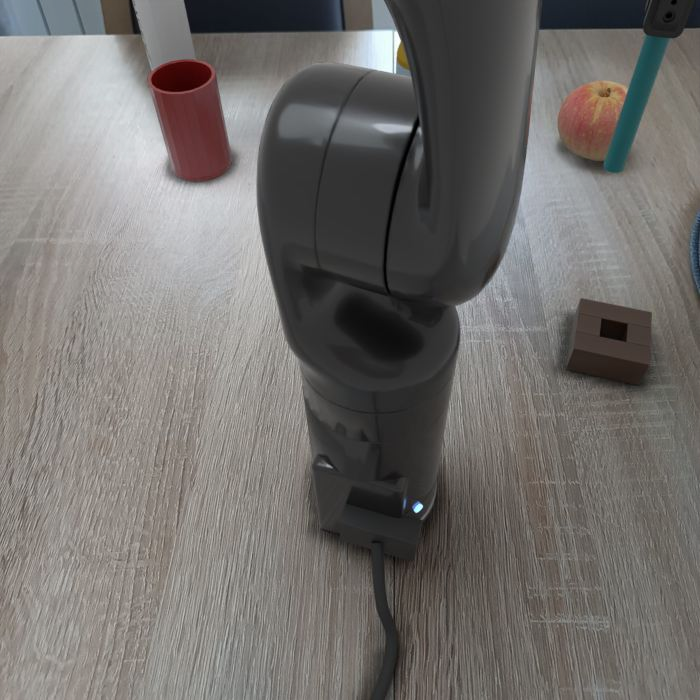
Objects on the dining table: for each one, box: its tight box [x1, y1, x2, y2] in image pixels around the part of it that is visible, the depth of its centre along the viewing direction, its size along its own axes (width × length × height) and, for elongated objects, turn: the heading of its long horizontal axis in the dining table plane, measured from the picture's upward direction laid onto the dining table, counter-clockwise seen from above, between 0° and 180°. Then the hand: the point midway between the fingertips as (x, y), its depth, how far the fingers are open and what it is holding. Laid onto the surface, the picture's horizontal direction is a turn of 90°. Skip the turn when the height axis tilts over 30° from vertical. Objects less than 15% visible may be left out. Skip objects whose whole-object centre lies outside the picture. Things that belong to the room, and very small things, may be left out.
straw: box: [602, 34, 671, 174], centre depth 41 cm, size 1×1×15 cm
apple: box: [557, 80, 629, 162], centre depth 75 cm, size 9×9×8 cm
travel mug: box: [131, 0, 197, 72], centre depth 84 cm, size 6×7×20 cm
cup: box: [147, 59, 233, 182], centre depth 74 cm, size 7×7×11 cm
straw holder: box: [565, 297, 653, 386], centre depth 58 cm, size 6×6×3 cm
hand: (661, 26), depth 39 cm, fingers closed on straw, 1 cm apart
